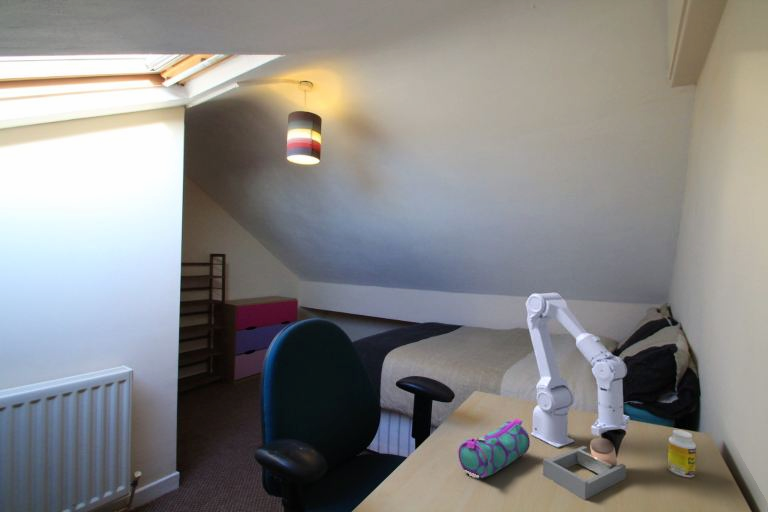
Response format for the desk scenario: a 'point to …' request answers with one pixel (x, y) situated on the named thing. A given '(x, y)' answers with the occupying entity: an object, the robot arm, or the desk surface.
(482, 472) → the pencil case
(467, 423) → the desk surface
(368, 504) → the desk surface
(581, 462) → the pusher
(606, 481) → the grey rectangular frame
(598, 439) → the jar
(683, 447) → the supplement bottle
